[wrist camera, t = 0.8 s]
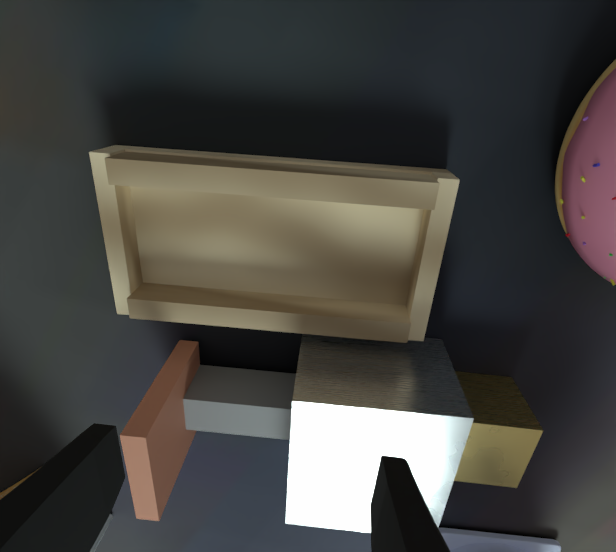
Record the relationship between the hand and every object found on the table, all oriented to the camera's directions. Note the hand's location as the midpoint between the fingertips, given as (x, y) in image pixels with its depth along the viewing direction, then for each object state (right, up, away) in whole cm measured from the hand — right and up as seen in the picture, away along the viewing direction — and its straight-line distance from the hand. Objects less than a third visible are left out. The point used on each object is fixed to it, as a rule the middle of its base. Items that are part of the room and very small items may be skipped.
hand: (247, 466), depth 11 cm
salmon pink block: (-1, -1, +11) cm, 11 cm away
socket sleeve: (+5, -1, +11) cm, 12 cm away
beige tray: (0, +7, +7) cm, 10 cm away
